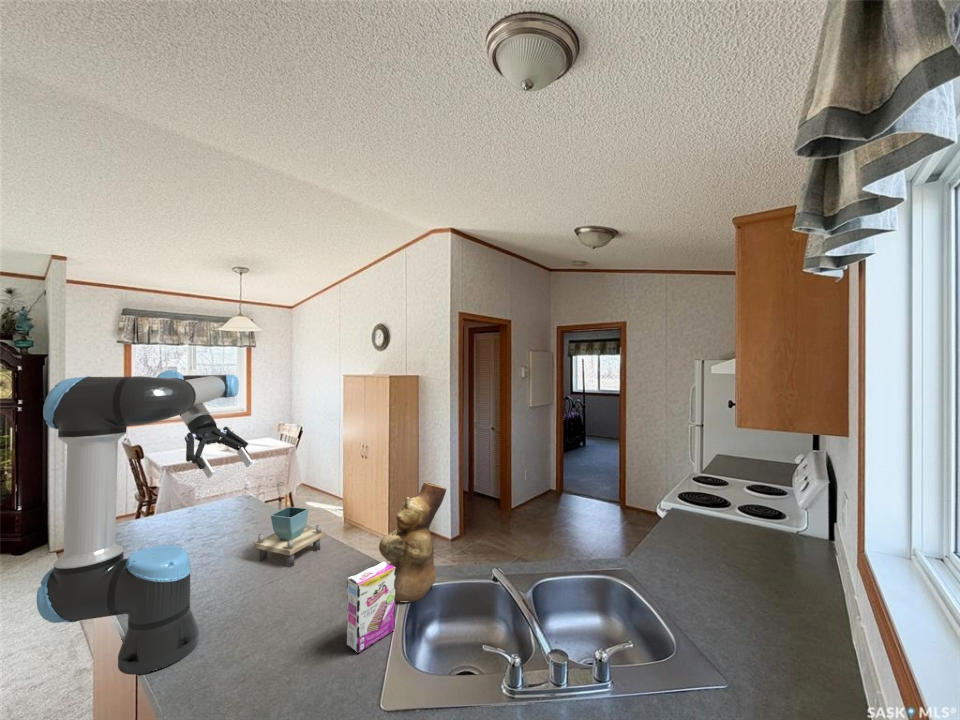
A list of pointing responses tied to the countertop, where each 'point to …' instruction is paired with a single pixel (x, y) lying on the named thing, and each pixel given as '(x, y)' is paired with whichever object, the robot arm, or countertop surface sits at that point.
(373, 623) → the candy bar box
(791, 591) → the countertop surface
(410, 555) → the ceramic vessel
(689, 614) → the countertop surface
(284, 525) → the flower pot
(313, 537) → the plant stand
